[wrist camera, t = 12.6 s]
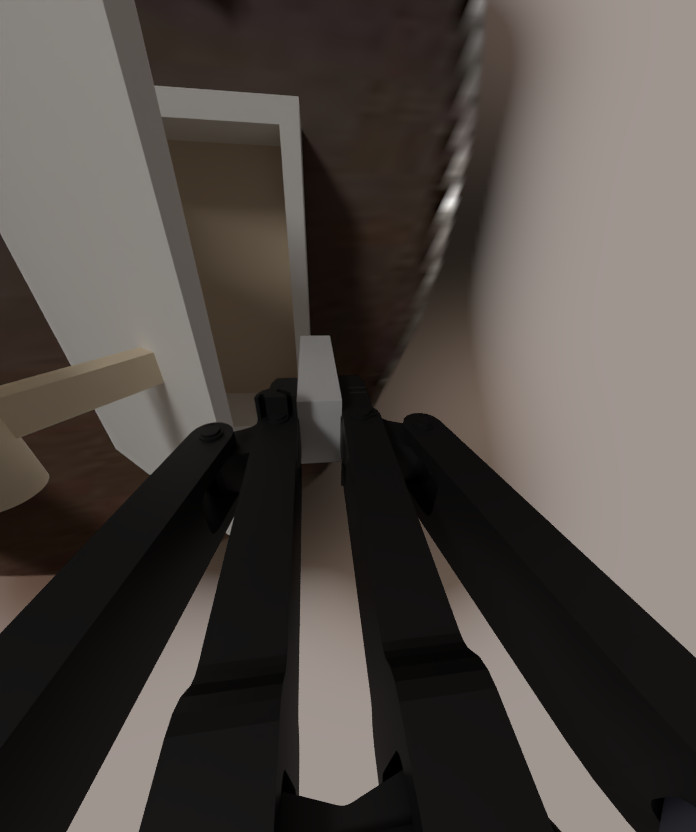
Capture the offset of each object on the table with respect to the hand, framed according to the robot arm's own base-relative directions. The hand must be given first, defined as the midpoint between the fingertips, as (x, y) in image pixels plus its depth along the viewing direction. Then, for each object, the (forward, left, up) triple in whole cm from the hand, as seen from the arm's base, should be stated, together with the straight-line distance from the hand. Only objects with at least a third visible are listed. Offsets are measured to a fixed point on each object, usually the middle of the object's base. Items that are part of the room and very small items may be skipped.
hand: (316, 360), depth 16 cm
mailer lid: (-11, 0, -3) cm, 12 cm away
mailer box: (-9, 0, -17) cm, 19 cm away
